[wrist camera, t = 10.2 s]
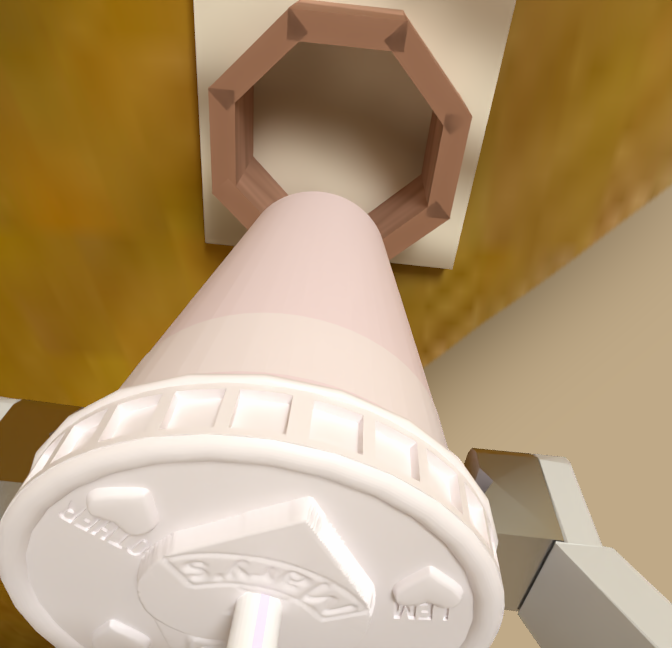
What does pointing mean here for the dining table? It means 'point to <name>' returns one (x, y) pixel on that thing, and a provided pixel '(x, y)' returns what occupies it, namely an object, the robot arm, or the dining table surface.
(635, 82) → the dining table surface
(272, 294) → the smoothie
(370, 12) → the bottle stand
